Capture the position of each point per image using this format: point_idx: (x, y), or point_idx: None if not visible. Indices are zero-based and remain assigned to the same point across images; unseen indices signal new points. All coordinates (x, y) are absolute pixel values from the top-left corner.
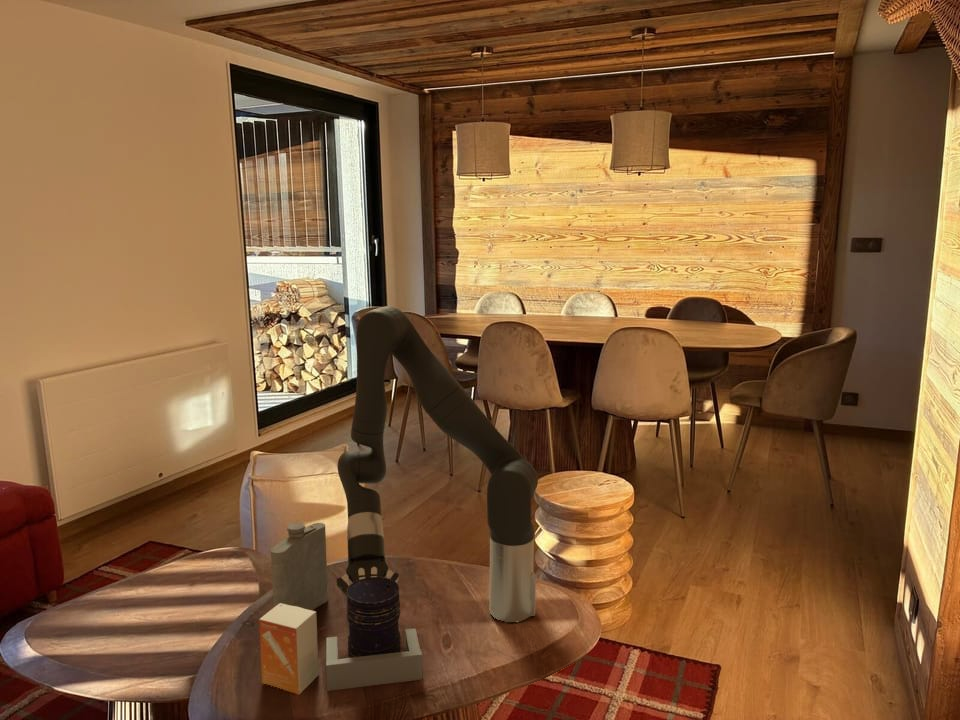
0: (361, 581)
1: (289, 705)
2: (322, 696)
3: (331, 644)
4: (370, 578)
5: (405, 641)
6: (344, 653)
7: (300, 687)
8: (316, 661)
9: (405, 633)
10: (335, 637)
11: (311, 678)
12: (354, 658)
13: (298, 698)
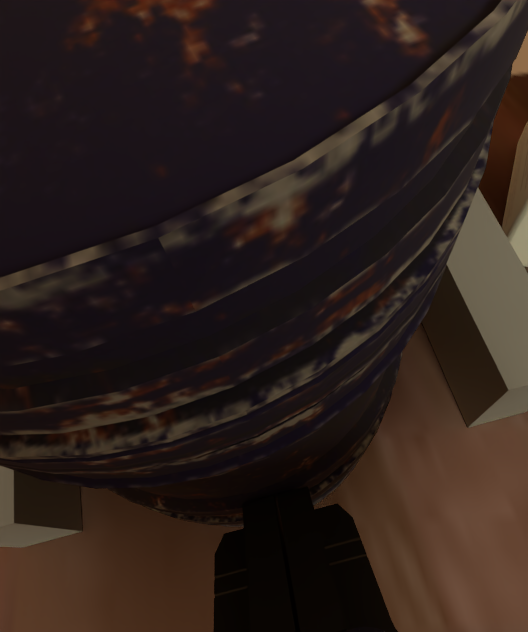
0: (343, 67)
1: (522, 97)
2: None
3: (505, 299)
4: (58, 269)
5: (58, 516)
6: (436, 453)
7: (524, 130)
8: (525, 192)
9: (24, 501)
10: (516, 379)
11: (509, 199)
12: None
13: (508, 130)
